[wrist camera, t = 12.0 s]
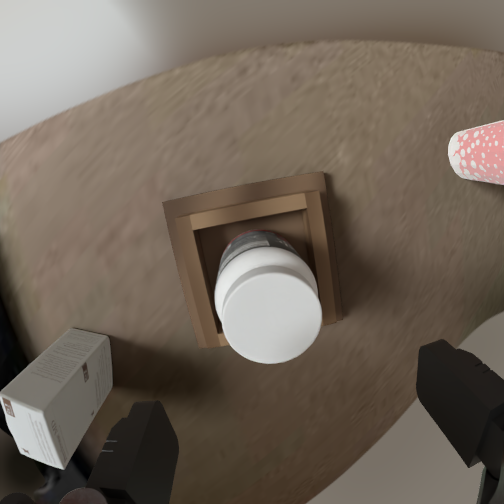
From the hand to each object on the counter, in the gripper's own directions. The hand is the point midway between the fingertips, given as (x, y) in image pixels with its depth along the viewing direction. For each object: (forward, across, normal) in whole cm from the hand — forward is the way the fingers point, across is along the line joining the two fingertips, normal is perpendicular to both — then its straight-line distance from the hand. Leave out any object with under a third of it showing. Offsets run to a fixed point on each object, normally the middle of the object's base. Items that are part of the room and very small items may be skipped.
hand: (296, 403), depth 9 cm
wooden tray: (+17, 0, 0) cm, 17 cm away
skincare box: (+17, +17, +6) cm, 25 cm away
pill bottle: (+16, 0, 0) cm, 16 cm away
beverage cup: (+17, -21, -6) cm, 28 cm away
